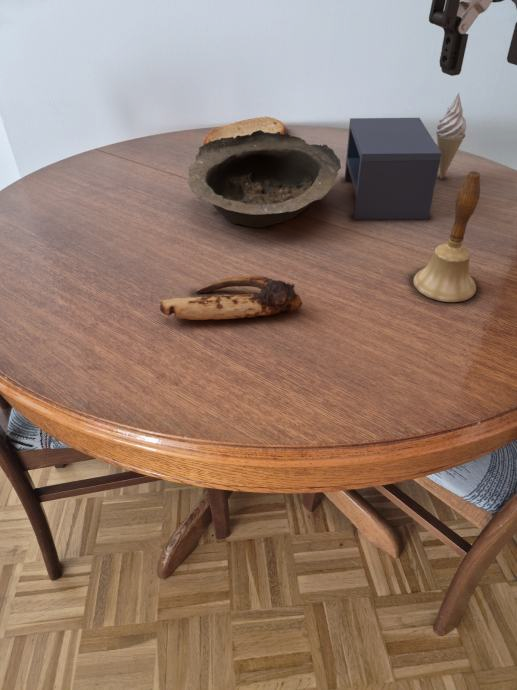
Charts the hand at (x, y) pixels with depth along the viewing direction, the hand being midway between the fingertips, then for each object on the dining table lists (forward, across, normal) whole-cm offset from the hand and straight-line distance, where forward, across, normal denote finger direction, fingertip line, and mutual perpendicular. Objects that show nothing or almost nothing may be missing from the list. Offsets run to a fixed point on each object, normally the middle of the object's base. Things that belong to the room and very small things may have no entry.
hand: (483, 68), depth 56 cm
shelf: (+28, +9, +26) cm, 39 cm away
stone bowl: (+28, -12, +31) cm, 43 cm away
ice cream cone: (+28, +23, +28) cm, 46 cm away
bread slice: (+28, -3, +61) cm, 67 cm away
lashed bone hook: (+28, -27, +7) cm, 39 cm away
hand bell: (+28, +2, 0) cm, 28 cm away
